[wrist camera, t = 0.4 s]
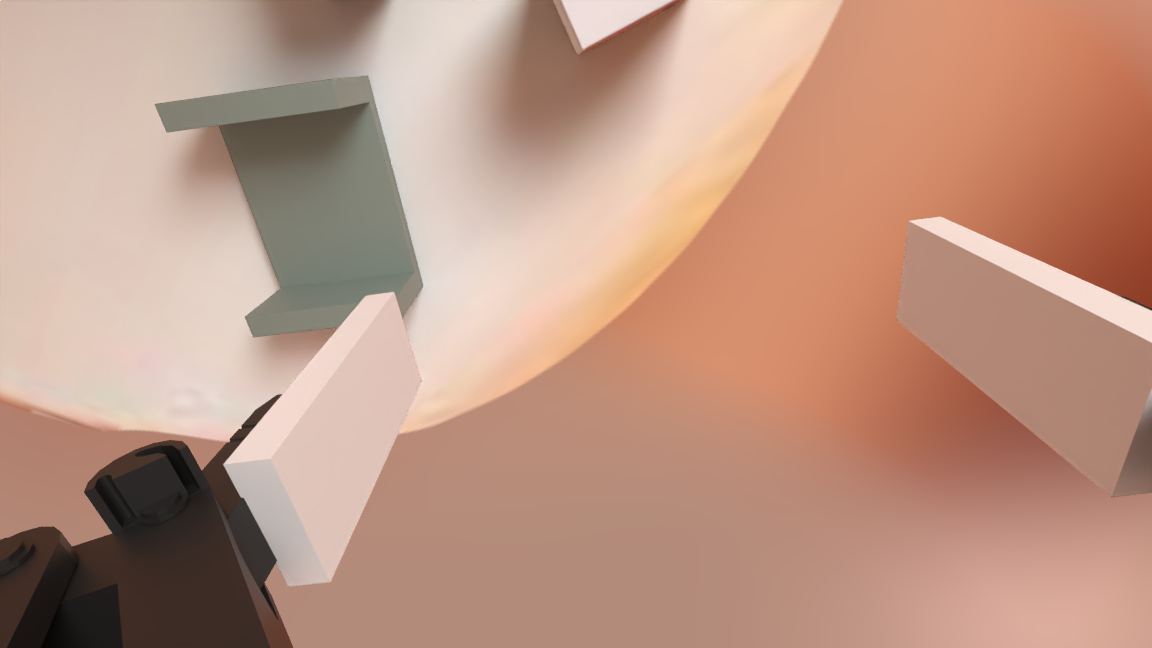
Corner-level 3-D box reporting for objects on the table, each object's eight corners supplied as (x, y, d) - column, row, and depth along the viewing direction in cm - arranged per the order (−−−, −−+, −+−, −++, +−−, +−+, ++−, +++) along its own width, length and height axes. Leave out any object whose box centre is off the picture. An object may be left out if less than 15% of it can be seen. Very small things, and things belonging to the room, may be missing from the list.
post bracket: (217, 97, 36) (154, 104, 31) (367, 75, 36) (331, 79, 30) (294, 301, 42) (253, 337, 37) (423, 285, 42) (401, 319, 36)
